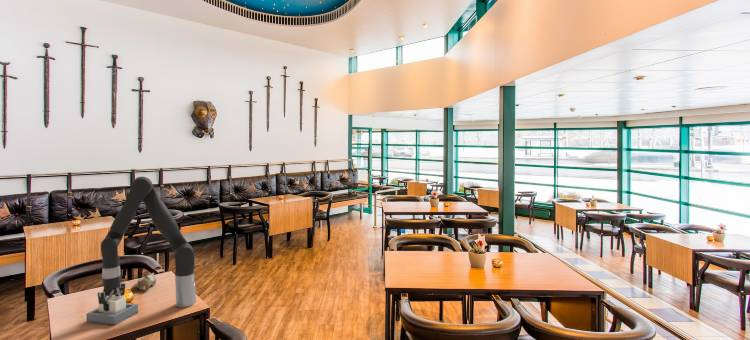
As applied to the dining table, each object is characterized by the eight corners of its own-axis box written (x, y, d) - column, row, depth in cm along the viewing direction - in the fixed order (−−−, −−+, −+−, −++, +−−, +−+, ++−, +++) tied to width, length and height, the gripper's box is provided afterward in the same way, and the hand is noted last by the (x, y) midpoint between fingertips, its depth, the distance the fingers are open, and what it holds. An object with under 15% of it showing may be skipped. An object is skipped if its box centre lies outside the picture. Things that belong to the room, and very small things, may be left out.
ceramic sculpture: (160, 270, 229) (143, 280, 214) (162, 283, 230) (145, 295, 215) (144, 270, 230) (126, 280, 215) (146, 283, 231) (128, 294, 216)
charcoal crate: (111, 309, 194) (111, 301, 194) (138, 312, 192) (137, 304, 191) (86, 322, 181) (86, 313, 180) (114, 325, 178) (114, 316, 178)
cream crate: (109, 306, 190) (108, 295, 189) (126, 308, 188) (125, 297, 187) (98, 311, 184) (98, 300, 183) (115, 313, 182) (115, 301, 181)
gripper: (105, 281, 177) (106, 315, 178) (129, 271, 191) (130, 302, 192) (91, 279, 178) (92, 313, 179) (117, 270, 192) (118, 301, 193)
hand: (112, 307), depth 186 cm, fingers closed on cream crate, 6 cm apart
